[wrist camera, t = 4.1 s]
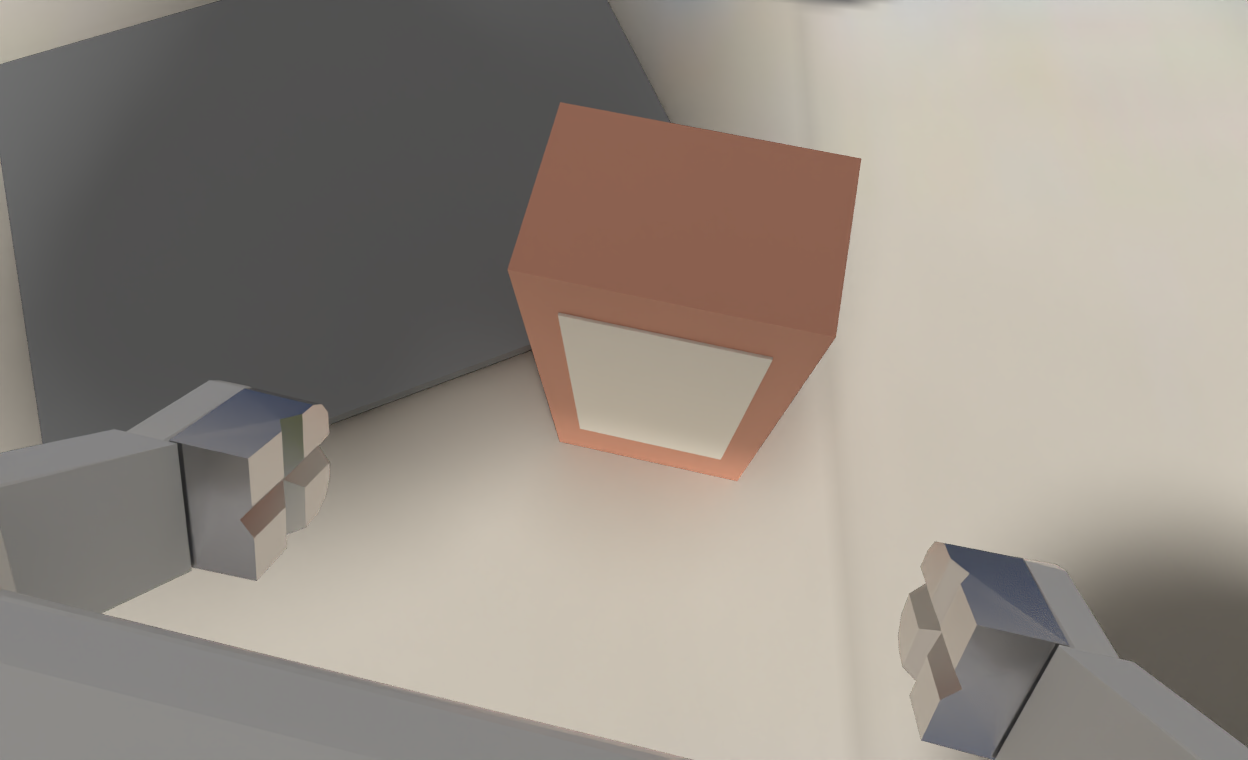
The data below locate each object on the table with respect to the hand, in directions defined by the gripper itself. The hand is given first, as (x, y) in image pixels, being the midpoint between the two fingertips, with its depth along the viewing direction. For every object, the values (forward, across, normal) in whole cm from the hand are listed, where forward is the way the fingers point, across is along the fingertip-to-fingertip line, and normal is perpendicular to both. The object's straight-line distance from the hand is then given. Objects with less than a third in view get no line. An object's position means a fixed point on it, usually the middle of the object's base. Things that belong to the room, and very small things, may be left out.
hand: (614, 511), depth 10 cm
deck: (+11, 0, +4) cm, 11 cm away
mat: (+14, +11, 0) cm, 18 cm away
